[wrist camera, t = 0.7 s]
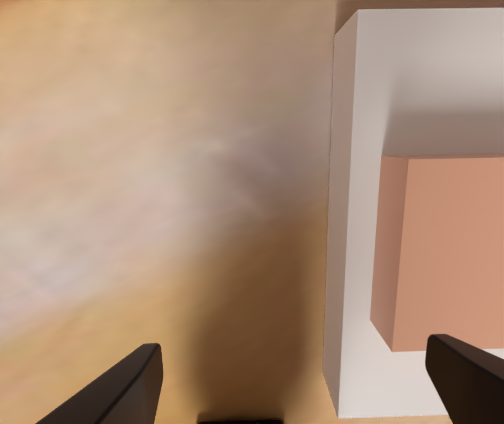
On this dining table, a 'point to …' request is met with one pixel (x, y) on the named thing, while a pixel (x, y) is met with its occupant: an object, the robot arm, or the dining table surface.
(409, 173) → the tan wooden brick
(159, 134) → the dining table surface
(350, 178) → the riser
